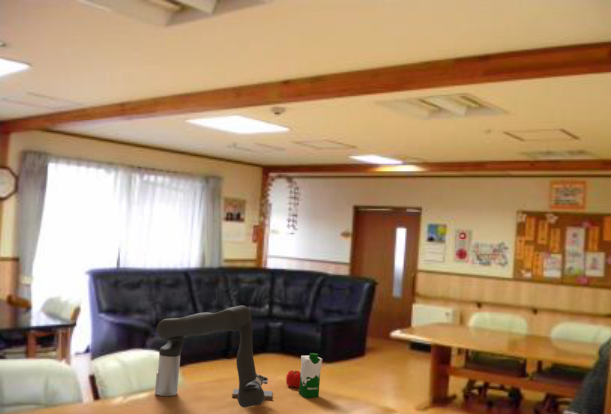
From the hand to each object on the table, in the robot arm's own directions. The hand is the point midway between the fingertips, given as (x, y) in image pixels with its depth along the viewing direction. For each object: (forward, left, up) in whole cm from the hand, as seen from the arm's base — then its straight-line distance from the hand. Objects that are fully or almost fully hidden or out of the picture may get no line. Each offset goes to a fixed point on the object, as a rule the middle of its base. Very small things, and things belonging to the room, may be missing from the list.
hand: (254, 374), depth 273 cm
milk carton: (+26, +9, -10) cm, 29 cm away
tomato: (+20, +23, -10) cm, 32 cm away
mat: (0, +5, -10) cm, 11 cm away
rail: (0, -2, -10) cm, 10 cm away
